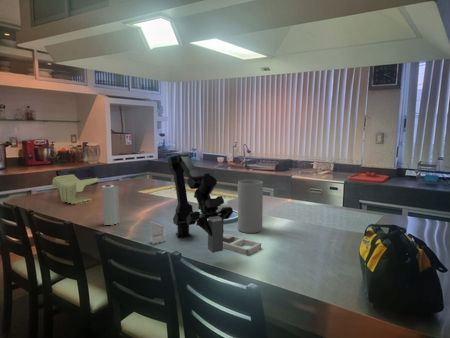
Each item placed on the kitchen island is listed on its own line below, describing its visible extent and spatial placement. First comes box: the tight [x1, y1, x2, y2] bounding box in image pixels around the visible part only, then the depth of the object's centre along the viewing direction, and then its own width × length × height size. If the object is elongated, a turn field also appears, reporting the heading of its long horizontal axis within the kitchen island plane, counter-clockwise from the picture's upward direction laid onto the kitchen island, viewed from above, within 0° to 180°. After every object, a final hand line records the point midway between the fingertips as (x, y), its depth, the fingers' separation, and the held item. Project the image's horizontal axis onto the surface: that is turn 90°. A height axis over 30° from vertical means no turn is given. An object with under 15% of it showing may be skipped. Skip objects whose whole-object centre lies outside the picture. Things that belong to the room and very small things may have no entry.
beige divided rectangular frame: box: [223, 233, 262, 256], centre depth 138 cm, size 20×10×3 cm, turn 51°
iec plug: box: [207, 216, 224, 253], centre depth 122 cm, size 4×4×13 cm
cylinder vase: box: [237, 179, 264, 234], centre depth 159 cm, size 12×12×25 cm
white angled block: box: [149, 220, 166, 245], centre depth 144 cm, size 4×10×9 cm, turn 126°
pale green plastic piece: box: [52, 173, 99, 205], centre depth 220 cm, size 30×16×18 cm, turn 56°
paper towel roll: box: [101, 184, 121, 226], centre depth 168 cm, size 7×6×21 cm
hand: (217, 234), depth 121 cm, fingers closed on iec plug, 4 cm apart
